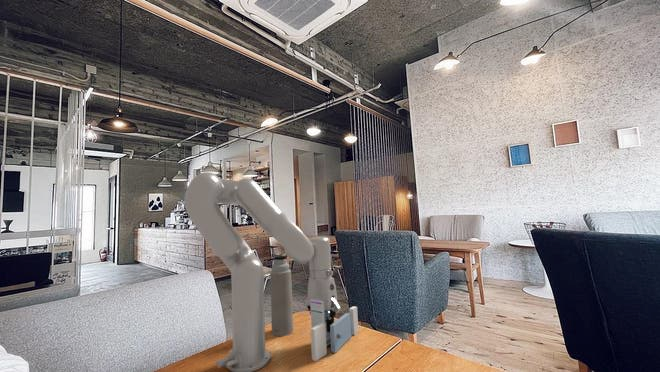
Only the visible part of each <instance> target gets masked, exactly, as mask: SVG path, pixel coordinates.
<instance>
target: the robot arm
mask: <svg viewBox="0 0 660 372" xmlns="http://www.w3.org/2000/svg"><path fill="white" fill-rule="evenodd" d="M189 182H190V183H189V185H188V186H187V188H186V191H185V196H184V204H185V205H184V206H185V211H186V213H187V216H188V217H189V219H190V220H191V222H192V224H193V225H194V227H195V228H196V229H197V230H198V232H199V234H200V235H201V237H202V238H203V239H204V240H205V242H206V244H208V246H209V248H210V249H211V251H212V252H213V253H214V254H213V255H215V256H216V257H218V258H220V260H221V261H222V262H223V264H224V265H225V267H226V268H227V269H228V271H229V272H230V276H231V277H230V278H231V318H232V319H231V326H232V327H231V329H232V348H231V349H229V350H228V351H229V352H228V354H227V355H226V356H225V357H223V358H220V359H218V360H216V366H217V367H216V368H217V369H220V368H223V367H224V366H225V367H226V368H227V369H228V371H230V372H255V371H257V370H260V369H262V368H263V367H265V366H267V364H268V363H269V362H270V361H271V351H269V350H268V349H267V348H266V333H265V331H266V325H265V324H266V323H265V319H266V318H265V292H264V291H265V269H264V264H263V263H262V262H261V260H260V259H259V258H258V257H257V255H256V253H254V251H253V249H251V247H250V245H248V243H247V242H246V240H245V239H244V238H243V235H241V233H240V232H239V231H238V230H237V229H235V227H234V226H233V225H232V224H231V222H230V221H229V220H228V218H227V216H225V214H224V212H223V211H222V209H221V208H220V206H219V204H225V205H233V206H235V205H236V206H241V208H243V209H244V211H245V212H246V213H247V214H248V215H249V216H250V217H251V218H252V220H253V221H254V223H255V222H256V224H257V225H258V227H260V228H261V229H262V230H263V231H264V232H265V233H267V234H268V235H270V236H271V237H272V238H273V239H275V241H277V242H278V244H279V245H280V246H281V247H282V248H283V249H284V253H285V254H286V255H285V256H287V257H288V258H289V259H291V260H292V261H294V262H295V263H298V264H307V263H308V265H309V277H308V283H307V298H306V299H305V300H304V304H305V306H306V307H307V309H308V311H309V315H310V316H311V308H310V299H317V300H321V301H323V303H324V310H326V314H327V318H328V319H327V320H326V325H327V332H330V325H331V324H333V323H334V322H335V317H336V316H337V315H338V314H339V313H340V311H341V310H342V307H341V305H340V304H339V302H338V293H337V292H338V291H337V286H336V283H335V282H336V281H335V278H334V277H332V276H334V271H332V256H331V241H330V238H328V237H327V236H314V237H312V238H311V237H310V238H308V237H307V236H306V234H305V233H303V231H302V230H301V229H300V228H299V227H298V226H297V224H295V223H294V222H293V221H292V220H291V219H290V218H289V217H288V215H287V214H285V212H283V211H282V209H280V208H279V207H278V205H277V204H276V203H275V202H274V201H273V199H271V198H270V196H269V194H267V193H266V191H265V190H264V189H263V188H262V187H261V186H260V185H259V184H258V183H257V182H256V181H255V180H254V179H252V178H249V177H246V178H242V179H240V180H233V179H225V178H220V177H219V176H218V175H217V174H215V173H213V172H209V171H208V172H207V171H204V172H201V173H198V174H197V175H195V176H194V177H193V179H191V181H189ZM333 308H334V309H333ZM330 312H331V314H330Z"/></svg>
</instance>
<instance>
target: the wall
mask: <svg viewBox="0 0 660 372" xmlns="http://www.w3.org/2000/svg"><path fill="white" fill-rule="evenodd" d="M349 309H350V312H351V330H352V336H356V335H357V334H359V331H360V330H359V318H358V306H351V307H349ZM310 344H311V360H312V361H314V362H317V361H319V360H320V359H322V358H323V357H324V356H326V355H327V346H326V330H325V324H324V323H320V324H318V325H316V326H314V327H313V328H312V327H311V328H310Z"/></svg>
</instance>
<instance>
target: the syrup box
mask: <svg viewBox="0 0 660 372" xmlns="http://www.w3.org/2000/svg"><path fill="white" fill-rule="evenodd" d="M310 308H311V315H310V323H311V328H313V327H314V326H316V325H318V324H320V323H324V324H325V330H326V347H327V346H328V345H331V334H330V332H327V325H326V320H327V319H328V318H327V314H326V310H324V303H323V301H321V300H317V299H310ZM333 309H334V310H335V308H334V307H333ZM330 314H331V312H330Z"/></svg>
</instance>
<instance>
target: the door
mask: <svg viewBox="0 0 660 372" xmlns="http://www.w3.org/2000/svg"><path fill="white" fill-rule="evenodd" d="M330 334H331V343H330V350H331V351H330V352H331V353H333V354H336V353H337V352H338V351H339V350H340V349H341V348H342V347H343V346H344V345H345V344H346V343H347V342H348V341H349V340H350V339H351V338H352V336H353V335H352V330H351V312H350V309H347V312H345V313H344V314H343V315H341V316H340V317H339V318H338V319H336V320H334V323H333V324H331V325H330Z"/></svg>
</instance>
